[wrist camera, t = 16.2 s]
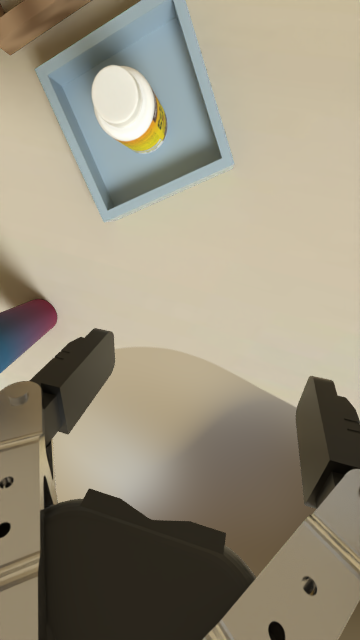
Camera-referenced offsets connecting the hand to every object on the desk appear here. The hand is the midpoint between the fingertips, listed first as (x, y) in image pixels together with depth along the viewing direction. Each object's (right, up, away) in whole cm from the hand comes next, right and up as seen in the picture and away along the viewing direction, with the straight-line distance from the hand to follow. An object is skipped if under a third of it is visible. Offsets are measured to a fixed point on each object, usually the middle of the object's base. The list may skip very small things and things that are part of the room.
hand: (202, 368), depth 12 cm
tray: (-5, +24, +22) cm, 33 cm away
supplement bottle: (-5, +24, +21) cm, 32 cm away
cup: (-22, +3, +33) cm, 40 cm away
